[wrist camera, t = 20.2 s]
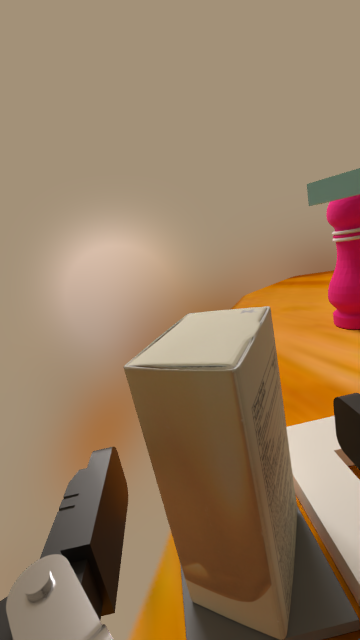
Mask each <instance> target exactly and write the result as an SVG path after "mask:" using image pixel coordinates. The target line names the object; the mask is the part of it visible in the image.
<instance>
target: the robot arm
mask: <svg viewBox="0 0 360 640" xmlns="http://www.w3.org/2000/svg"><path fill="white" fill-rule="evenodd" d="M334 415H335V428H336V437H337V440H338V443H339V445H340V447H341V449H342V450H343V452H344V453H345V454H346V455H347V457H348V458H349V459H350V460H351V461H352V462H353V463H354V464H355V465H356V466H357V467H358V469H359V470H360V394H358V393H354V394H349V395H345V396H340V397H336V398H335V399H334ZM127 506H128V489H127V483H126V479H125V476H124V472H123V469H122V466H121V462H120V459H119V456H118V452H117V450H116V448H115V447H110V448H106V449H101V450H97V451H93V453H92V455H91V458H90V461H89V464H88V467H87V468H86V469H82V470H79V471H78V473H77V474H76V475H75V476H74V477H73V479H72V480H71V481H70V482H69V484H68V487H67V489H66V492H65V494H64V499H63V500H62V502H61V505H60V507H59V512H58V513H57V515H56V518H55V520H54V523H53V526H52V528H51V531H50V534H49V536H48V539H47V541H46V544H45V546H44V549H43V552H42V554H41V557H40V559H39V560H37V561H36V562H34V563H33V564H31V565H30V566H29V567H28V568H27V569H26V570H25V571H24V572H23V573H22V574H21V575H20V576H19V578H18V579H17V580H16V582H15V583H14V585H13V587H12V588H11V590H10V593H9V595H8V597H6V598H4V599H3V600H2V601H0V640H114V639H113V638H112V636H111V635H110V632H109V630H108V629H107V627H106V626H105V625H102V624H101V622H100V619H101V616H104V615H108V614H112V613H115V605H116V597H117V589H118V581H119V571H120V564H121V556H122V547H123V539H124V530H125V522H126V513H127ZM358 640H360V638H359V639H358Z"/></svg>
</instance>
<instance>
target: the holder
mask: <svg viewBox="0 0 360 640" xmlns="http://www.w3.org/2000/svg"><path fill="white" fill-rule="evenodd" d="M286 429H287V436H288V444H289V452H290V459H291V466H292V473H293V480H294V489H295V494H296V496H297V498H298V499H299V501H300V503H301V505H302V506H303V508H304V510H305V512H306V513H307V515H308V517H309V519H310V520H311V522H312V524H313V526H314V528H315V529H316V531H317V533H318V535H319V536H320V538H321V540H322V542H323V543H324V545H325V547H326V549H327V550H328V552H329V554H330V556H331V557H332V559H333V561H334V563H335V565H336V566H337V568H338V570H339V572H340V573H341V575H342V577H343V579H344V580H345V582H346V584H347V586H348V587H349V589H350V591H351V593H352V594H353V596H354V598H355V600H356V601H357V603H358V605H359V607H360V480H359V479H358V478H357V477H356V475H355V474H354V473H353V472H352V471H351V470H350V469H349V467H348V466H352V465H355V464H354V463H353V462H352V461H351V460H350V459H349V458H348V457H347V455H346V454H345V453H344V452H343V450H342V449H341V447H340V445H339V443H338V440H337V437H336V428H335V416H332V417H327V418H323V419H319V420H314V421H310V422H306V423H302V424H297V425H293V426H289V427H286Z"/></svg>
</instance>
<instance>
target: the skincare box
mask: <svg viewBox="0 0 360 640" xmlns="http://www.w3.org/2000/svg"><path fill="white" fill-rule="evenodd" d="M124 370H125V374H126V377H127V380H128V383H129V387H130V391H131V394H132V398H133V401H134V404H135V408H136V412H137V415H138V418H139V422H140V425H141V428H142V432H143V435H144V439H145V442H146V446H147V449H148V452H149V456H150V459H151V463H152V466H153V470H154V473H155V476H156V480H157V484H158V487H159V490H160V494H161V498H162V501H163V504H164V508H165V511H166V515H167V518H168V522H169V525H170V528H171V532H172V535H173V538H174V542H175V546H176V549H177V552H178V556H179V559H180V563H181V566H182V570H183V573H184V577H185V581H186V584H187V587H188V591H189V595H190V598H191V600H192V601H193V602H194V603H196V604H199V605H201V606H203V607H205V608H208V609H210V610H212V611H214V612H216V613H218V614H220V615H223V616H225V617H227V618H229V619H232V620H234V621H236V622H238V623H240V624H243V625H245V626H248V627H250V628H252V629H255V630H257V631H260V632H262V633H265V634H267V635H269V636H272V637H275V638H277V639H280V640H282V639H284V638H285V637H286V635H287V629H288V621H289V613H290V604H291V593H292V584H293V573H294V559H295V546H296V529H297V503H296V496H295V489H294V480H293V473H292V466H291V459H290V452H289V444H288V436H287V429H286V422H285V414H284V407H283V399H282V391H281V383H280V376H279V369H278V361H277V353H276V346H275V339H274V331H273V324H272V317H271V310H270V307H255V308H243V309H232V310H220V311H209V312H201V313H190V314H187V315H186V316H185V317H184V318H182V319H181V320H179V321H178V322H177V323H176V324H174V325H173V326H172V327H170V328H169V329H168V330H167V331H166V332H165V333H163V334H162V335H161V336H160V337H158V338H157V339H156V340H155V341H153V342H152V343H151V344H150V345H149V346H147V347H146V348H145V349H144V350H142V351H141V352H140V353H139V354H138V355H137V356H136V357H134V358H133V359H132V360H131V361H130V362H129V363H127V364H126V365H125V366H124Z"/></svg>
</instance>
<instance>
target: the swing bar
mask: <svg viewBox="0 0 360 640" xmlns="http://www.w3.org/2000/svg"><path fill="white" fill-rule="evenodd" d="M307 189H308V201H309V206H312V205H317V204H322V203H326V202H331V201H335V200H339V199H343V198H348V197H352V196H356V195H360V168H359V169H356V170H352V171H349V172H346V173H342V174H339V175H336V176H332V177H329V178H326V179H322V180H319V181H316V182H313V183H309V184H307Z"/></svg>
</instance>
